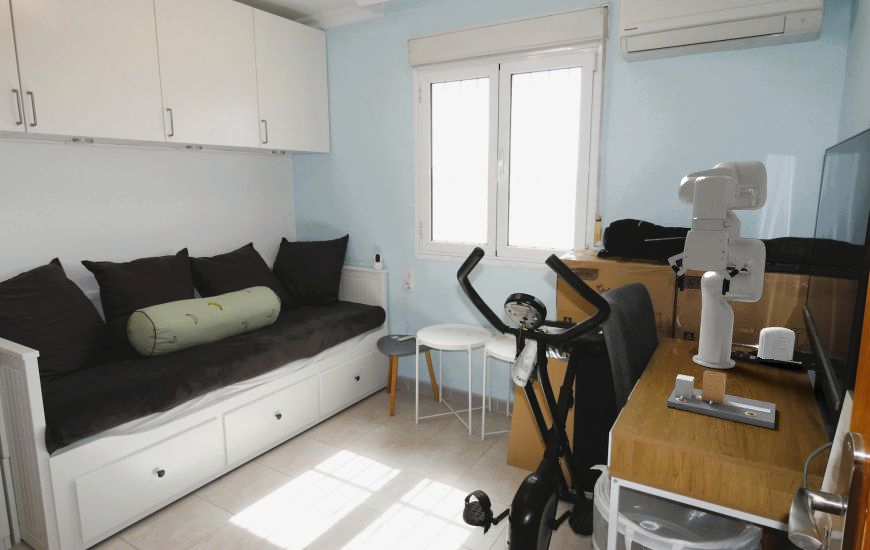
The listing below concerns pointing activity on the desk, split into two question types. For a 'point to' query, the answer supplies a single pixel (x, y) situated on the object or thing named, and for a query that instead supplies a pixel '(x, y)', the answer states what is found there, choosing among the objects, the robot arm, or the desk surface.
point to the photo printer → (776, 343)
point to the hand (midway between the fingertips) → (702, 292)
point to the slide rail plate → (721, 405)
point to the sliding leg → (713, 386)
